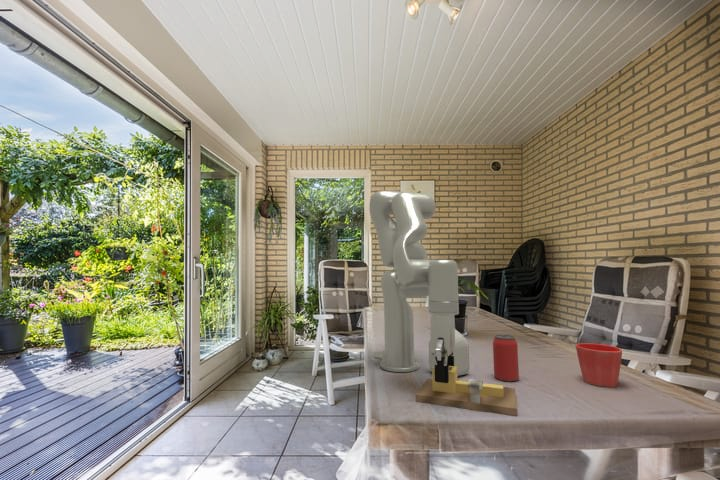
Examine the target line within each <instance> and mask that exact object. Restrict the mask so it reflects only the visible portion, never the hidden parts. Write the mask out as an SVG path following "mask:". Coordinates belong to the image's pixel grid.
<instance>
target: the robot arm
mask: <svg viewBox="0 0 720 480" xmlns="http://www.w3.org/2000/svg"><path fill="white" fill-rule="evenodd" d="M368 209H369V216H370V219H371V221H372V224H373V226H374V229H375V232H376V235H377V242H378V246H379V247H378V248H379V253H380V258H381V262H382V264H383V266H385V267H387V268H393V269H389V270H387V271H385V272H384V273H383V274H382V276H381V277H380V288H381V293H382V298H383V318H384V323H383V324H384V351H382V352H380V351H374V352H373V353H372V356H373V358H374V359H376V360H381V361H380V363H379V367H380V368H381V370H385V371H387V372H393V373H408V372H415V371H417V370H419V368H420V363H419V362H418V361H415V348H414V347H415V339H414V338H415V337H414V329H415V328H414V311H413V309H412V307H411V305H410V303H409V302H408V300H407V299H414V298H415V299H417V298H419V299H420V298H428V314H429V315H431V320H430V339H431V341H430V340H429V341H430V353H431V354H432V355H434V354H435V352H436V355H435V381H436V382H441V383H448V382H449V372H448V366H454V356H453V350H454V348H455V329H456V322H455V321H456V320H455V316H457V315H459V313H460V311H459V310H460V307H459V302H460V301H459V272H458V271H459V268H458V263H457V262H456V260H453V259H429V258H428V254H427V251H426V248H425V246H424V245H423V244H422V243H421V242H420V241H421V240H423V239H424V238H425V237H426V236H427V234H428V227H427V223H426V221H425V220H429V219H431V218H432V217H433V216H434V214H435V212H436V202H435V200H434V198H433V196H432V195H430V194H429V193H424V192H413V191H412V192H411V191H409V192H408V191H398V190H379V191H376V192H374V193H373V194H371V196H370V198H369V208H368ZM391 216H393V218H392V217H391ZM451 355H452V356H451Z"/></svg>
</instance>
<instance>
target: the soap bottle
mask: <svg viewBox="0 0 720 480" xmlns="http://www.w3.org/2000/svg"><path fill="white" fill-rule="evenodd" d="M430 341H431V338H430V339H429V341H428V360H429V361H428V363H429V364H428V365H429V370H430V371H431V372H432V369H433V368H434V367H435V355H436V352H435V354H434V355H432V354H431V353H430ZM469 346H470V344H469V341H468V340H467V339H466V338H465V336H463V334H461V332H459V331H458V330H457V329H456V328H455V348H454V350H453V356H454V366H457V375H458V377H460V376H463V375H467V374H468V373H469V372H470V347H469ZM451 356H452V355H451Z"/></svg>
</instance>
